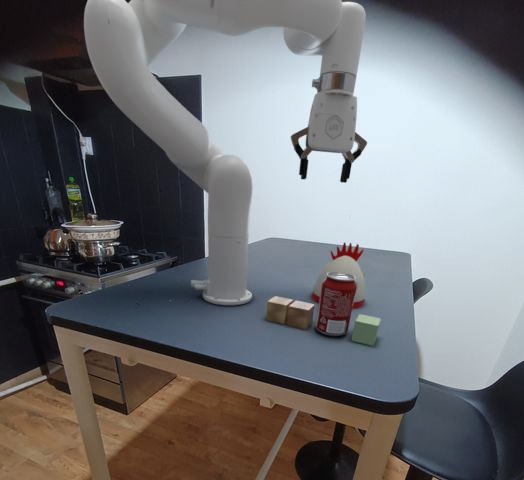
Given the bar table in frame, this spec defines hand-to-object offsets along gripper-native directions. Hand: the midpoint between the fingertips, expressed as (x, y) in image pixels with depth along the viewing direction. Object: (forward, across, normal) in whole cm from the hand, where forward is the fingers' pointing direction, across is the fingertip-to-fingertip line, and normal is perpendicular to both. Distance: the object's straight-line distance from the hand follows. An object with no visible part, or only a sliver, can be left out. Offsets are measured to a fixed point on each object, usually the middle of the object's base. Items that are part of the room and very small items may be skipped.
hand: (323, 180), depth 75 cm
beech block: (+28, -6, -20) cm, 35 cm away
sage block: (+28, +6, -27) cm, 39 cm away
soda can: (+28, 0, -23) cm, 37 cm away
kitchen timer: (+28, +8, -2) cm, 30 cm away
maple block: (+28, -10, -17) cm, 35 cm away
